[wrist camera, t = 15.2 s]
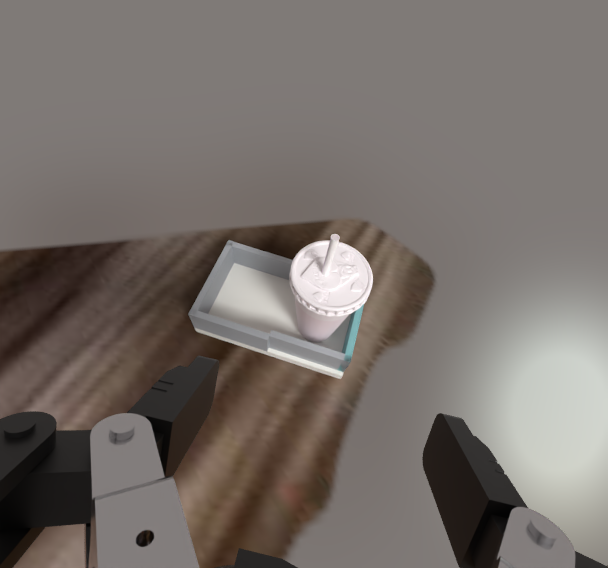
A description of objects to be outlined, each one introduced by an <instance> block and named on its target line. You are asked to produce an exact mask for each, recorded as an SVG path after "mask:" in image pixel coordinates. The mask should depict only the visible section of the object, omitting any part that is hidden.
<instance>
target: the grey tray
mask: <svg viewBox="0 0 608 568" xmlns="http://www.w3.org/2000/svg"><path fill="white" fill-rule="evenodd" d="M292 262H293V260H291V259H288V258H285V257H282V256H278V255H275V254H272V253H269V252H265V251H262V250H259V249H256V248H252V247H249V246H246V245H243V244H239V243H236V242H233V241H230V240H228V242H227V244H226V246H225V248H224V249H223V251H222V253H221V255H220V257H219V259H218V260H217V262H216V264H215V266H214V268H213V270H212V271H211V273H210V275H209V277H208V279H207V281H206V282H205V284H204V286H203V288H202V290H201V292H200V293H199V295H198V297H197V299H196V301H195V303H194V304H193V306H192V308H191V310H190V312H189V314H188V315H189V317H190V319H191V321H192V323H193V326H194V328H195V330H196V332H199V333H202V334H205V335H208V336H212V337H215V338H218V339H221V340H224V341H227V342H230V343H233V344H236V345H239V346H242V347H245V348H248V349H251V350H254V351H257V352H260V353H263V354H266V355H269V356H272V357H275V358H278V359H281V360H284V361H287V362H290V363H293V364H296V365H299V366H302V367H305V368H308V369H311V370H314V371H317V372H320V373H323V374H327V375H330V376H333V377H336V378H339V379H341V377H342V376H343V372H344V371H345V369H346V368H347V367H348V365H349V364H350V362H351V358H352V353H353V349H354V345H355V341H356V336H357V332H358V328H359V323H360V319H361V315H362V311H363V306H364V304H363V305H362V306H361V307H360V308H359V309H358V310H356V311H354V312H353V313H351V314H349V315H348V316H347V318H346V319H345V320H344V321H343V322H342V323H341V324H340V326H339V327H338V328H337V329H336V330H335V331H334V333H333V334H332V335H331V336H330V337H329V338H328V339H326V340H324V341H321V342H312V341H309V340H307V339H306V338H304V337H303V336H302V335H301V333H300V332H299V329H298V324H297V314H296V304H295V296H294V294H293V292H292V289H291V286H290V281H289V273H290V270H291V265H292Z"/></svg>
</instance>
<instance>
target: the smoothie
mask: <svg viewBox="0 0 608 568" xmlns="http://www.w3.org/2000/svg"><path fill="white" fill-rule="evenodd" d="M339 239H340V237H339V235H337V234H333V235H332V236H331V239H330V241H318V242H314V243H311V244H309V245H307V246H305V247H304V248H302V249H301V250H300V251H299V252H298V253H297V254H296V256H295V257H294V259H293V262H292V265H291V270H290V273H289V281H290V286H291V289H292V292H293V294H294V296H295V304H296V314H297V324H298V329H299V332H300V333H301V335H302V336H303V337H304V338H306V339H307V340H309V341H312V342H321V341H324V340H326V339H328V338H329V337H330V336H331V335H332V334H333V333H334V331H335V330H336V329H337V328H338V327H339V326H340V324H341V323H342V322H343V321H344V320H345V319H346V318H347V316H348V315H349V314H351V313H353V312H354V311H356V310H358V309H359V308H360V307H361V306H362V305H363V304H364V303H365V302H366V300H367V298H368V296H369V294H370V291H371V288H372V284H373V275H372V271H371V268H370V265H369V263H368V262H367V260H366V259H365V258H364V256H363V255H362V254H361V253H360V252H358V251H357V250H356V249H354V248H353V247H351V246H349V245H347V244H344V243H341V242H339Z"/></svg>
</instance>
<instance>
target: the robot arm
mask: <svg viewBox="0 0 608 568" xmlns="http://www.w3.org/2000/svg"><path fill="white" fill-rule="evenodd" d="M218 368H219V360H215V359H211V358H207V357H202V356H197V357H196V359H195V360H194V361H193V362H192V363H191V364H190V365H189V367H188V368H187V367H183V366H178V367H176V368H174V369H171V370H169V371H167V372H166V373H165V374H164V375H163V376H162V377H161V378H160V379H159V381H158V382H156V383H155V384H154V385H153V386H152V388H151V389H150V390H149V391H148V392H147V393H146V394H145V395H144V396H143V397H142V398H141V399H140V400H139V401H138V402H137V403H136V404H135V405H134V406H133V407H132V408H131V409H130V410H129V411H128V412H127V413H123V414H117V415H113V416H110V417H107V418H105V419H103V420H102V421H100V422H99V423H97V424H96V425H95V426H94V428H93V429H92V430H77V431H56V420H55V418H54V417H53V416H51V415H50V414H47V413H44V412H22V413H17V414H13V415H10V416H7V417H4V418H2V419H0V568H13V567H14V565H15V564H16V563H17V562H18V560H19V559H20V558H21V557H22V555H23V554H24V553H25V552H26V550H27V549H28V548H29V547H30V545H31V544H32V543H33V542H34V540H35V539H36V538H37V537H38V536H39V534H40V533H41V532H42V531H43V529H44V528H45V527H49V526H61V525H73V524H84V536H85V568H199V565H198V561H197V558H196V554H195V551H194V547H193V544H192V540H191V537H190V533H189V530H188V526H187V523H186V519H185V516H184V512H183V509H182V505H181V502H180V498H179V495H178V491H177V488H176V484H175V481H174V479H173V475H174V473H175V471H176V470H177V468H178V466H179V464H180V463H181V461H182V459H183V458H184V456H185V454H186V452H187V451H188V449H189V447H190V445H191V444H192V442H193V440H194V438H195V437H196V435H197V433H198V431H199V430H200V428H201V426H202V424H203V423H204V421H205V419H206V418H207V416H208V414H209V411H210V409H211V406H212V402H213V398H214V392H215V386H216V380H217V374H218ZM423 467H424V471H425V474H426V476H427V479H428V481H429V485H430V487H431V490H432V493H433V496H434V499H435V501H436V504H437V507H438V510H439V513H440V515H441V518H442V521H443V524H444V526H445V529H446V532H447V535H448V537H449V540H450V543H451V546H452V549H453V551H454V554H455V557H456V560H457V563H458V565H459V567H460V568H608V566H605V565H603V564H601V563H599V562H597V561H595V560H593V559H591V558H589V557H586V556H584V555H582V554H580V553H578V552H576V551H575V550H574V547H573V545H572V543H571V541H570V540H569V538H568V537H567V536H566V535H565V534H564V532H563V531H562V530H561V529H560V528H559V527H557V526H556V525H555V524H554V523H553V522H551V521H550V520H549V519H547V518H546V517H545V516H543V515H541V514H540V513H538V512H536V511H534V510H531V509H528V507H527V506H526V504H525V503H524V501H523V500H522V498H521V497H520V495H519V494H518V492H517V491H516V489H515V487H514V486H513V484H512V483H511V481H510V480H509V478H508V477H507V475H505V474H504V471H503V469H502V468H501V466H500V465H499V464H497V460H496V458H495V457H494V456H493V454H492V453H491V451H490V450H489V448H488V447H487V446H486V445H485V444H483V443H482V442H481V441H480V440H479V439H478V438H477V437H476V436H473V435H472V433H471V431H470V430H469V428H468V427H467V425H466V424H465V422H464V420H463V419H461V418H458V417H454V416H450V415H446V414H441V413H440V414H438V415H437V416H436V418H435V420H434V423H433V426H432V429H431V431H430V434H429V437H428V440H427V442H426V445H425V448H424V451H423ZM216 568H297V567H295V566H294V565H292V564H290V563H288V562H286V561H285V560H283V559H280V558H276V557H272V556H268V555H264V554H260V553H256V552H252V551H248V550H244V549H240V548H239V550H238V554H237V558H236V562H235V565H227V566H221V567H216Z"/></svg>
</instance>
